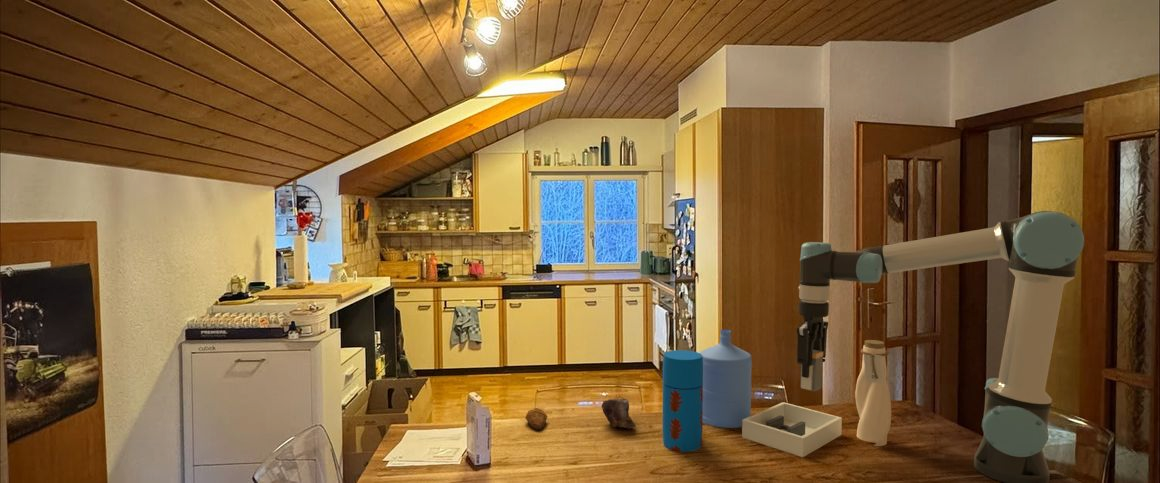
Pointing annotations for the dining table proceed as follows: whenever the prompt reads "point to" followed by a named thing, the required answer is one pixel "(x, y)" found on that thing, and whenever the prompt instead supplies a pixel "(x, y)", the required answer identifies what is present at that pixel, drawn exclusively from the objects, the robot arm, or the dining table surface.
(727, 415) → the water jug
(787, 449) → the box
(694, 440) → the thermos
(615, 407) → the rock
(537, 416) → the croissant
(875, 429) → the water bottle
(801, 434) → the inlet
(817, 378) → the grey tall block
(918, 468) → the dining table surface
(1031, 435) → the robot arm
